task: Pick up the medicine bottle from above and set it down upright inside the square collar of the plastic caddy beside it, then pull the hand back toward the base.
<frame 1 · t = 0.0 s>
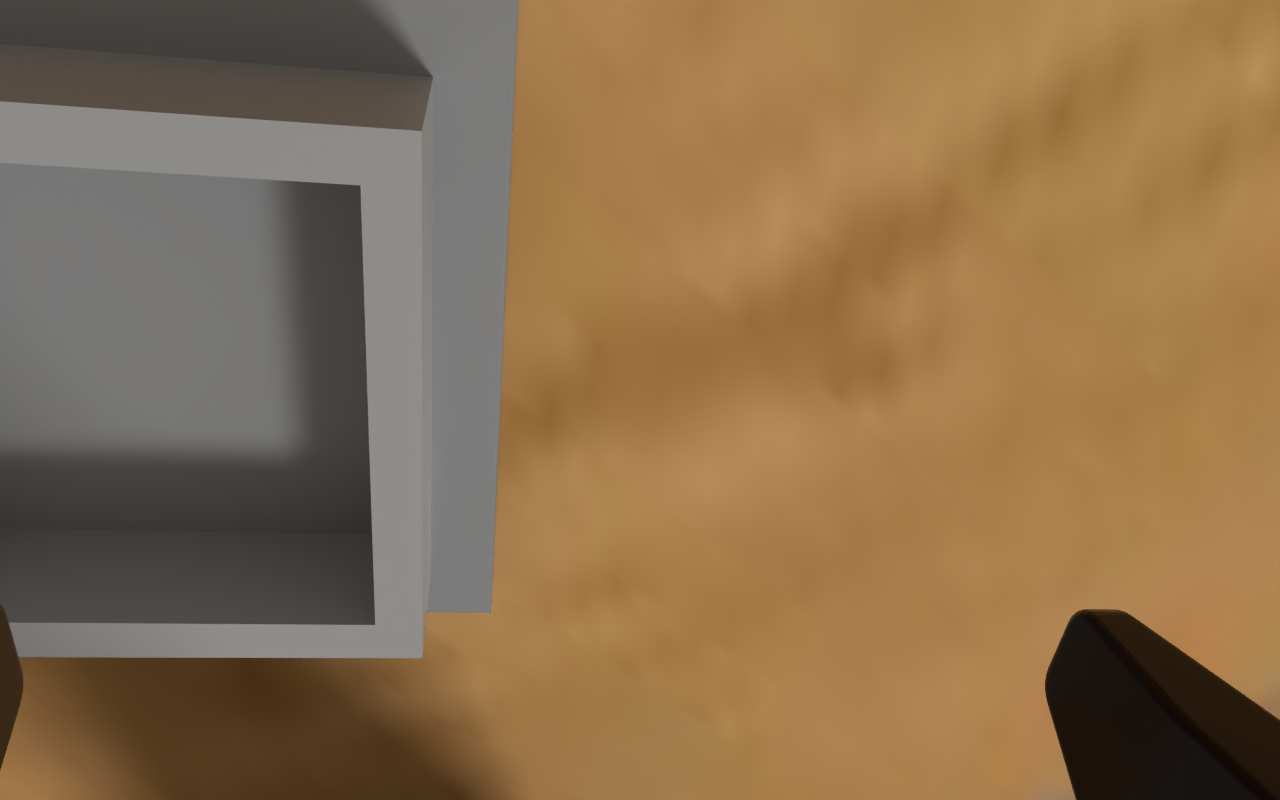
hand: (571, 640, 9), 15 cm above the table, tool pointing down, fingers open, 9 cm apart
bottle caddy: (151, 320, 23), on the table
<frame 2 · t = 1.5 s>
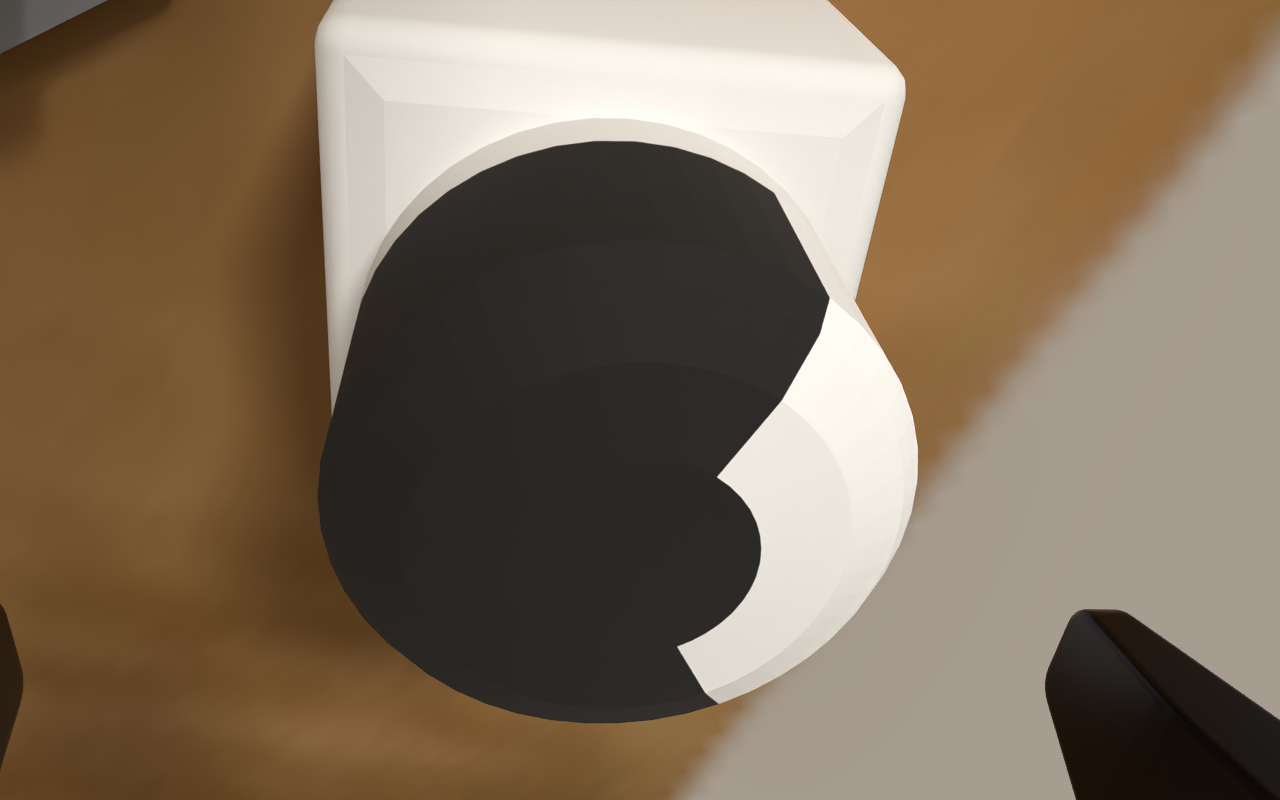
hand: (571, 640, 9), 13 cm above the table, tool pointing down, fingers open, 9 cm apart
medicine bottle: (572, 132, 20), on the table
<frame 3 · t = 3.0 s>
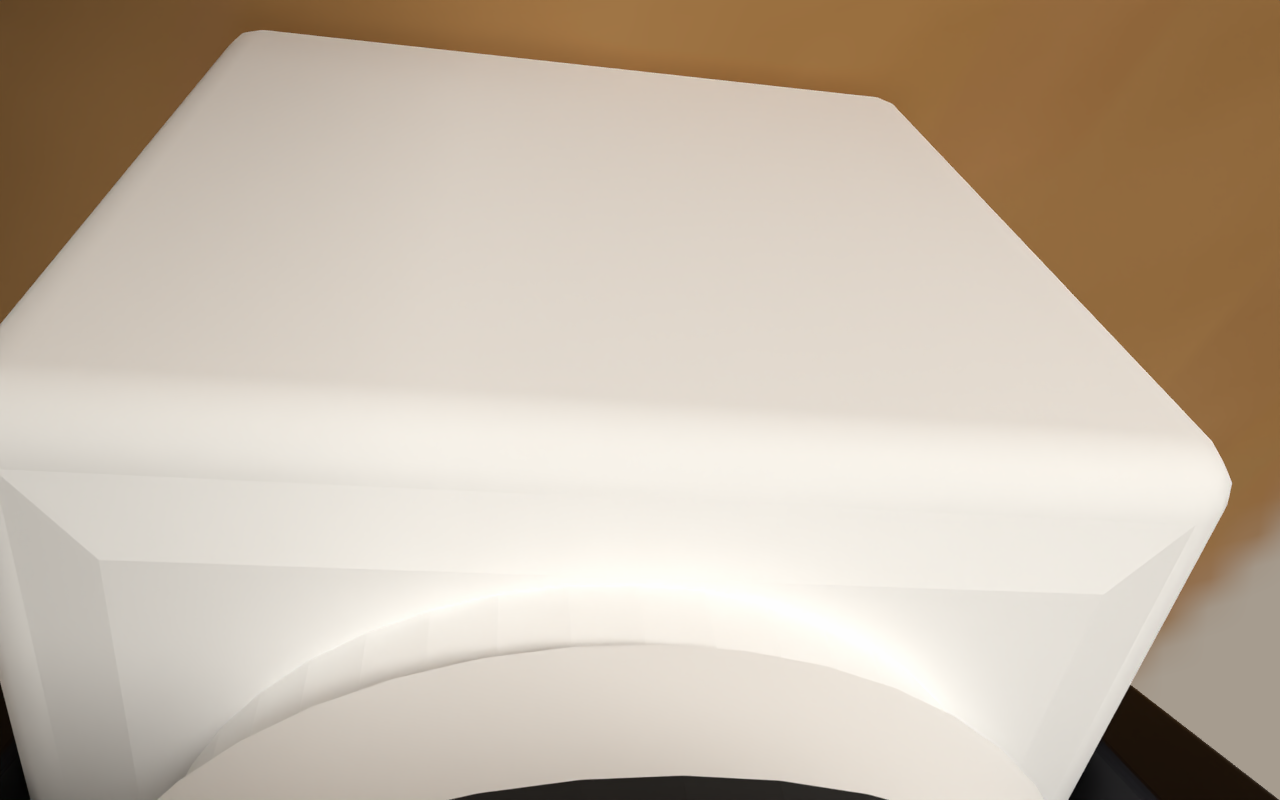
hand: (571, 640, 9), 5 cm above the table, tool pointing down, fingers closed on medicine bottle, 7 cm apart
medicine bottle: (550, 337, 13), on the table, touching gripper
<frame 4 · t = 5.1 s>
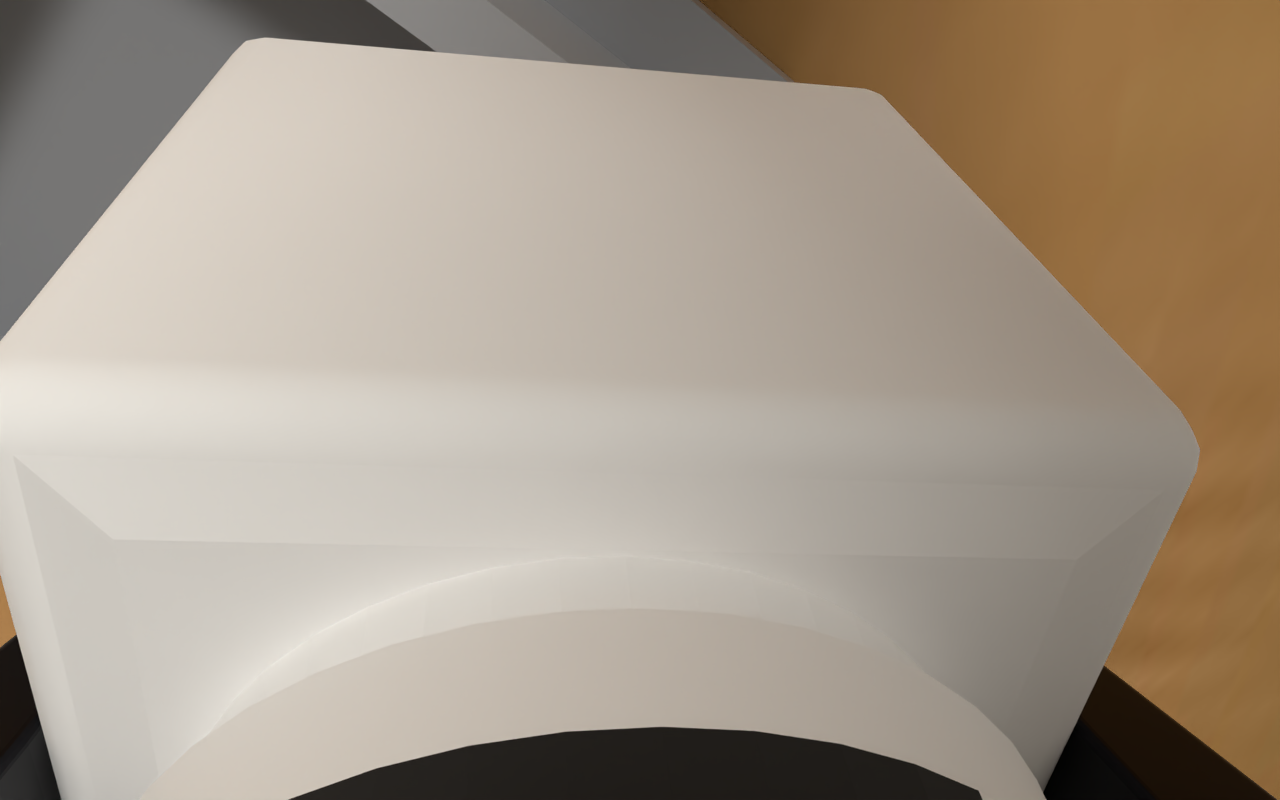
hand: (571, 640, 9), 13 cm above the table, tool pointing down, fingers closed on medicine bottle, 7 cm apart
bottle caddy: (220, 157, 20), on the table
medicine bottle: (552, 331, 14), point 7 cm above the table, touching gripper
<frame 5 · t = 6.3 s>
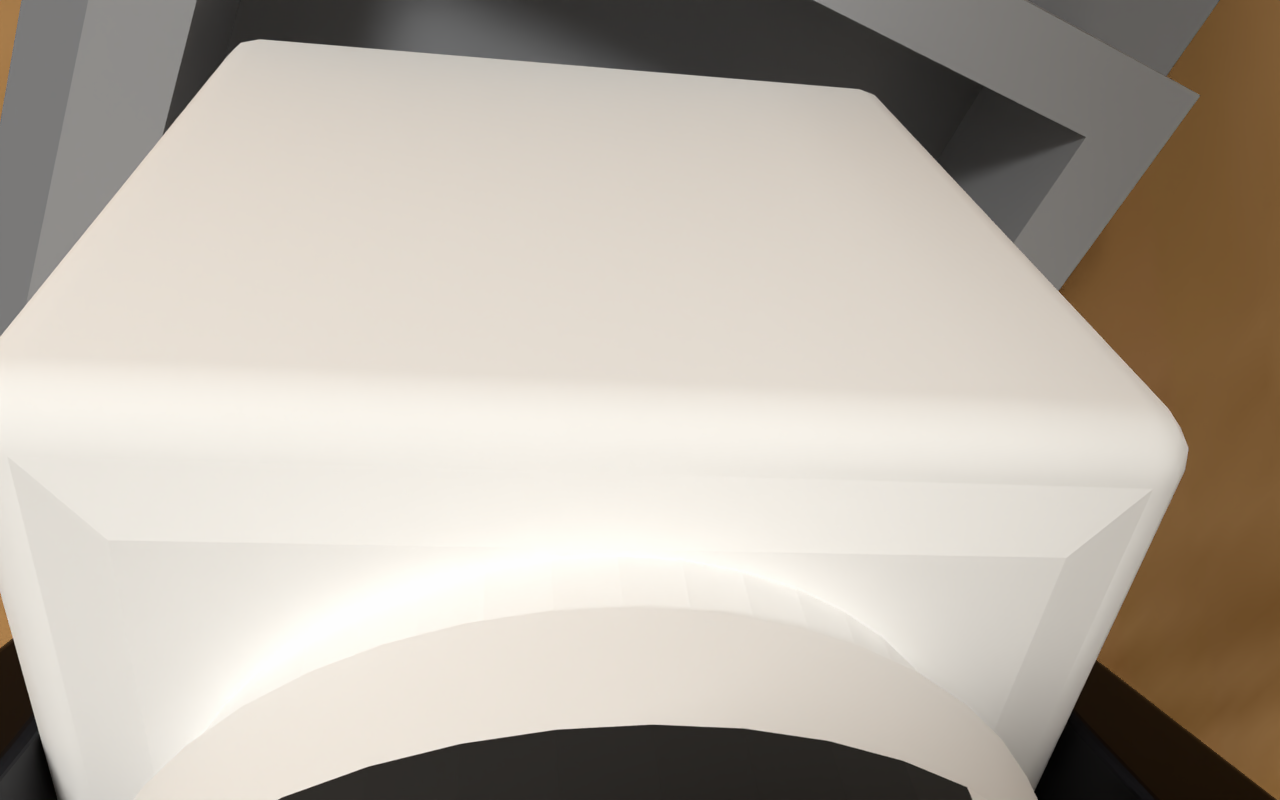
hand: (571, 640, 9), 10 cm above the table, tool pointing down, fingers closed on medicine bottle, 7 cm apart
bottle caddy: (543, 212, 17), on the table
medicine bottle: (548, 332, 14), point 4 cm above the table, touching gripper
when the fingers open (7 cm above the table, at t = 7.4 s): medicine bottle stays where it is, resting on bottle caddy.
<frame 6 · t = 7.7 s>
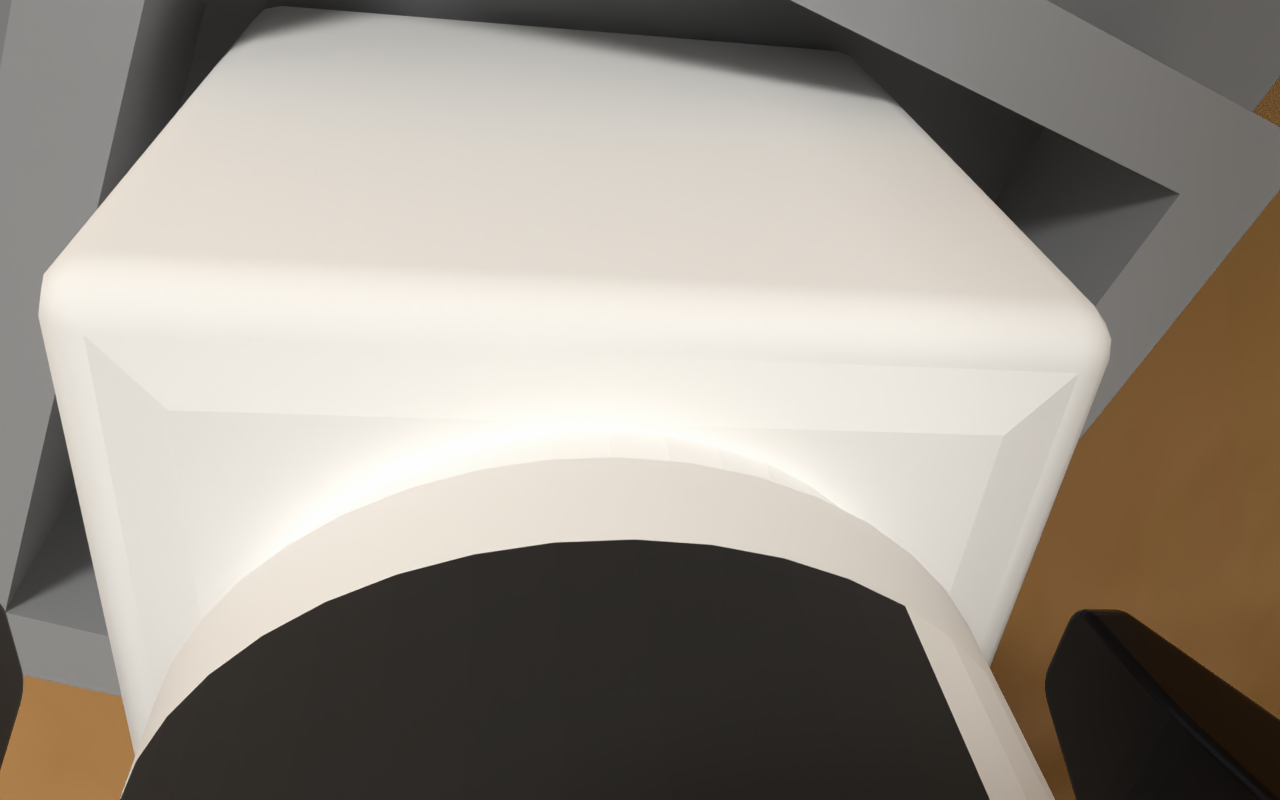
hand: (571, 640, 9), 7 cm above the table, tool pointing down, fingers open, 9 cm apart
bottle caddy: (547, 261, 15), on the table
medicine bottle: (550, 285, 15), point 1 cm above the table, touching bottle caddy
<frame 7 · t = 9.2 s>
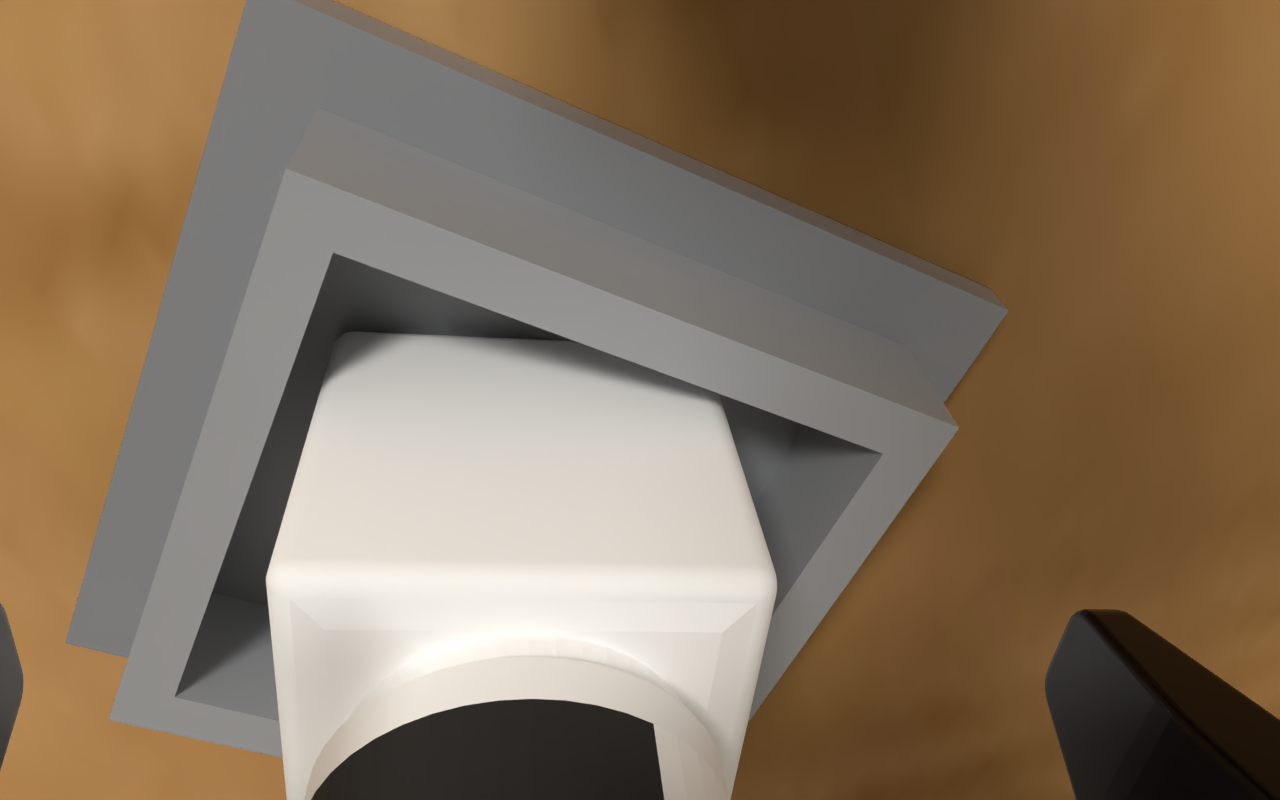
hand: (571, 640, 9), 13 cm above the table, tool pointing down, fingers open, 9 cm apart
bottle caddy: (516, 457, 23), on the table
medicine bottle: (517, 477, 23), point 1 cm above the table, touching bottle caddy
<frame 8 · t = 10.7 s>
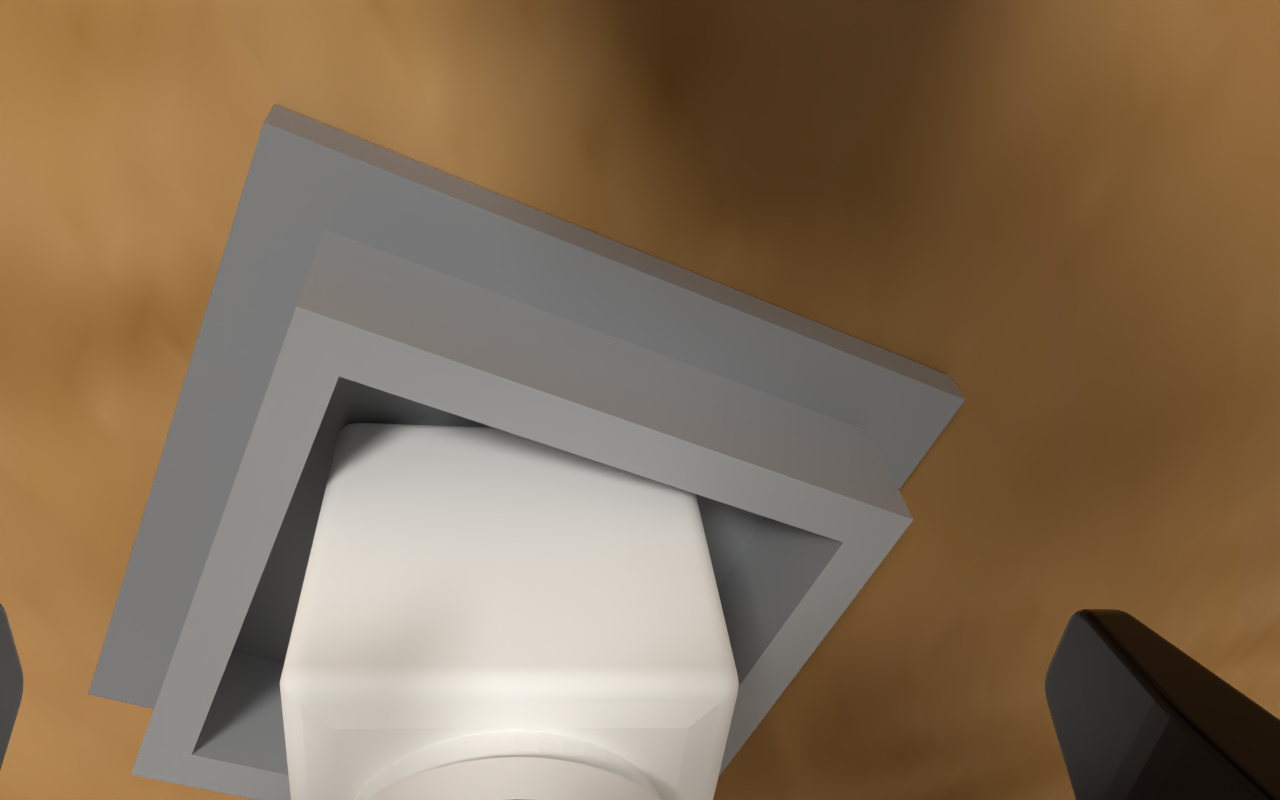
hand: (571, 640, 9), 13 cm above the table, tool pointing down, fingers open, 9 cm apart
bottle caddy: (507, 525, 25), on the table
medicine bottle: (508, 547, 24), point 1 cm above the table, touching bottle caddy
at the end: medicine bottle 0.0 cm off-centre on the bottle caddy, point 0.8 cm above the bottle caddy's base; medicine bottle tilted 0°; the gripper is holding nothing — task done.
